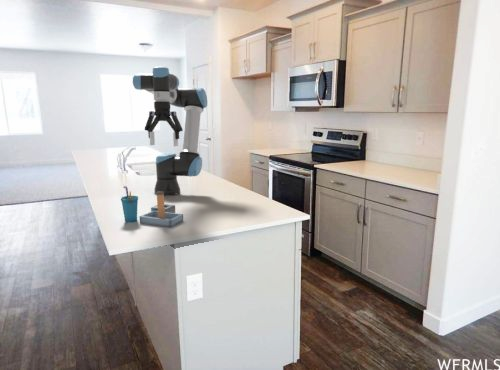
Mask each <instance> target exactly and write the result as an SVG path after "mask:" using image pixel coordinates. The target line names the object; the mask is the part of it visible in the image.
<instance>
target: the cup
mask: <svg viewBox="0 0 500 370" xmlns="http://www.w3.org/2000/svg"><path fill="white" fill-rule="evenodd" d="M123 188H124V189H125V192H126V193H125V195H124V196H122V197H120V201H121V205H122V211H123V217H124V222H125V221H126V223H133V222H137V220H138V200H139V196H138V195H132V192H131V191H129V189H128V186H127V185H125V186H124V185H123Z"/></svg>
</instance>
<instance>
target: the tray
mask: <svg viewBox="0 0 500 370" xmlns="http://www.w3.org/2000/svg"><path fill="white" fill-rule="evenodd" d="M138 217H139V223H140V224H144V225H145V224H146V225H151V224H152V225H151V226H158V225H159V226H158V227H167V228H172V227H174V226H177V224H180V223H181V222H184V214H183V213H176V212H175V213H169V212H165V219H160V218H158V211H151V210H150V212H147V213H143V214H141V215H139V216H138Z"/></svg>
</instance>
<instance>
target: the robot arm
mask: <svg viewBox="0 0 500 370" xmlns="http://www.w3.org/2000/svg"><path fill="white" fill-rule="evenodd" d="M132 85H133V87H134V89H135V90H140V91H142V90H144V91H147V92H148V93H151V94H153V101H154V102H153V109H154V111H153V110H151V111H148V112H149V113H148V118H147V122H146V124H145V126H144V131H147V132H148V133H147V134H148V139H149V146H154V145H156V144H155V140H156V139H155V131H154V130H155V128H156V127H157V125H158V124H159V122H166V123H167V124H168V125H169V126H170V128H171V129H172V130H173V131H174V132H173V133H172V137H173V139H172V140H173V147H178V146H179V139H180V132H183V127H182V125H181V123H180V120H179V118H178V116H177V112H176V111H171V106H173V107H177V108H183V110H184V111H185V122H184V133H183V143H182V150H181V151H180V152H179V156H178V155H177V154H176V153H164V154H160V155H157V156H156V159H155V167H156V183H155V185H154V192H153V193H154V194H155V195H157V192H159V191H163V192H164V196H172V195H173V196H174V195H178V194H180V193H181V188H180V184H179V181H178V178H177V177H198V176H199V175H200V173H201V171H202V168H203V159H202V156H200V153H199V151H198V147H199V137H200V136H199V135H200V134H199V133H200V125H201V123H200V121H201V114H202V113H203V112H204V109H206V108H207V106H208V95H207V92H206V90H205V89H204V88H203V87H179V85H180V78H178V76H177V75H174V74H172V73H170V70H169V68H168V67H165V66H154V67H153V68H152V73H138V74H137V73H136V74H134V75H133V77H132Z"/></svg>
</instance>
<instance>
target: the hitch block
mask: <svg viewBox="0 0 500 370" xmlns="http://www.w3.org/2000/svg"><path fill="white" fill-rule="evenodd" d="M164 208H165V212H169V213H176V204H167V203H164ZM151 211H158V208H157V205H154V206H151V207H150V212H151Z"/></svg>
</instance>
